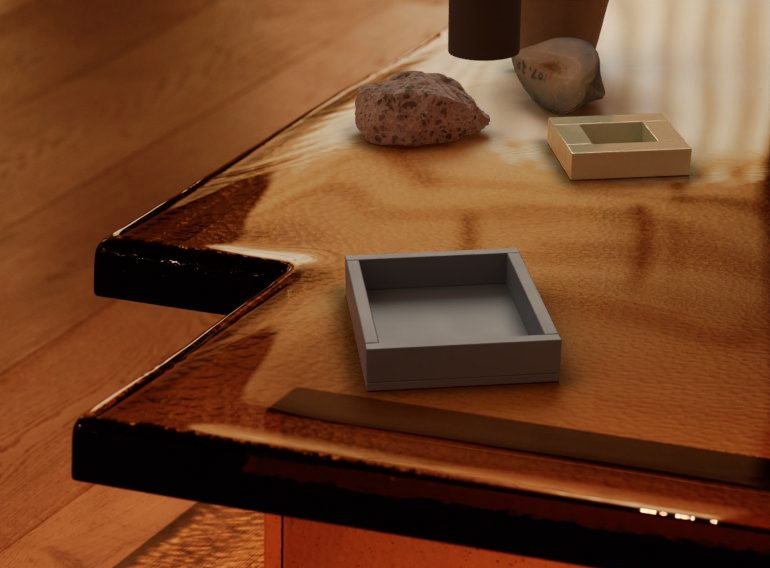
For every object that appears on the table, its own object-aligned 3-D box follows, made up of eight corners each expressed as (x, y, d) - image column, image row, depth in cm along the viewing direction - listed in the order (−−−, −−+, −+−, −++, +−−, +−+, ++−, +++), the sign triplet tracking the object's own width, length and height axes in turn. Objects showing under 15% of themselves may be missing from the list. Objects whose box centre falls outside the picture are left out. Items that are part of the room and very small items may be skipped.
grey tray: (559, 381, 88) (562, 339, 86) (366, 391, 87) (365, 349, 86) (516, 285, 99) (517, 247, 98) (345, 293, 98) (344, 255, 97)
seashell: (527, 47, 137) (499, 5, 127) (628, 72, 134) (608, 30, 124) (503, 118, 137) (473, 81, 127) (603, 144, 134) (581, 108, 125)
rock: (369, 110, 131) (368, 60, 129) (499, 120, 128) (500, 69, 126) (337, 144, 124) (336, 91, 122) (474, 155, 121) (475, 101, 119)
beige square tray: (689, 175, 117) (692, 148, 116) (570, 180, 116) (571, 153, 115) (659, 138, 124) (661, 112, 123) (546, 142, 123) (548, 117, 122)
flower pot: (499, 48, 147) (503, -66, 142) (623, 55, 145) (632, -61, 140) (475, 82, 138) (478, -39, 133) (607, 90, 135) (616, -33, 130)
